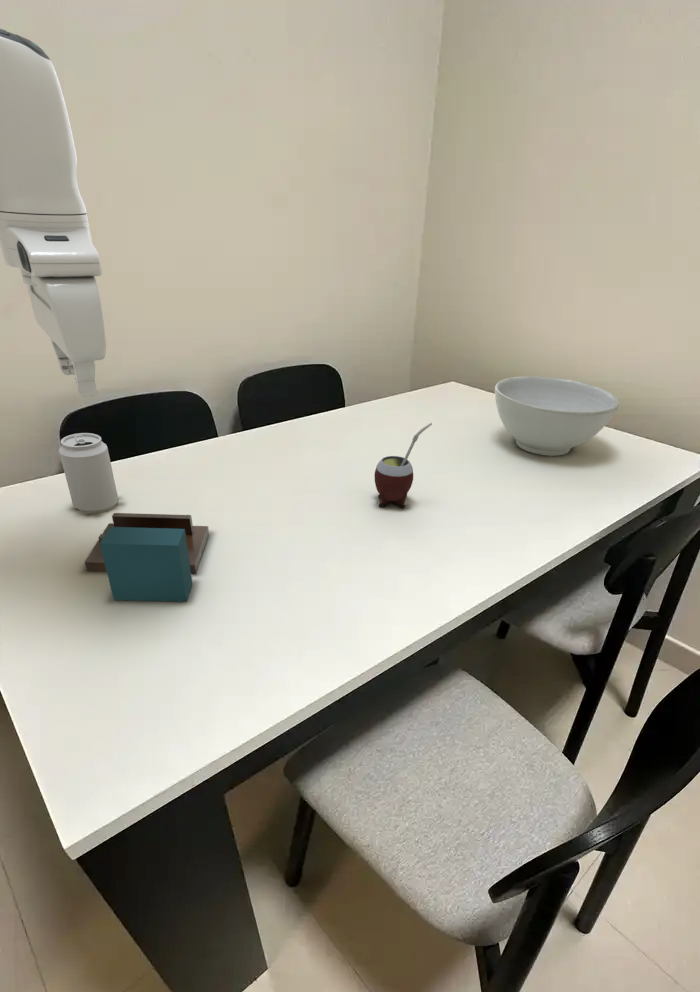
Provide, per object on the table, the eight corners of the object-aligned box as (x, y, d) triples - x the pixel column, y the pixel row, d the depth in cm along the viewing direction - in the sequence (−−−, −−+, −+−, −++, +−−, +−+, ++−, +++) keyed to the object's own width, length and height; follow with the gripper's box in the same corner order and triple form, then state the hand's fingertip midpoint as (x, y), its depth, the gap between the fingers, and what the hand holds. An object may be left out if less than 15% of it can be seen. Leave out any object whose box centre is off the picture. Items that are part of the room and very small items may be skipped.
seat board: (86, 570, 86) (79, 544, 83) (110, 531, 95) (104, 506, 92) (196, 573, 86) (192, 547, 84) (209, 534, 96) (206, 509, 93)
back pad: (113, 600, 80) (99, 543, 75) (122, 582, 84) (109, 526, 78) (186, 601, 81) (178, 545, 75) (192, 583, 84) (184, 528, 79)
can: (81, 519, 98) (63, 450, 91) (68, 502, 102) (50, 435, 95) (125, 508, 101) (111, 441, 94) (111, 492, 106) (96, 427, 99)
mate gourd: (364, 501, 108) (370, 420, 99) (392, 489, 113) (400, 411, 104) (394, 515, 104) (403, 432, 95) (422, 502, 109) (433, 423, 100)
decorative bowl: (477, 423, 147) (487, 372, 139) (583, 429, 147) (598, 379, 139) (494, 464, 125) (506, 407, 118) (618, 472, 125) (638, 416, 118)
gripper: (0, 234, 66) (33, 364, 74) (32, 258, 53) (68, 412, 61) (59, 235, 69) (85, 360, 77) (104, 258, 55) (129, 405, 64)
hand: (78, 383), depth 69 cm, fingers open, 8 cm apart
